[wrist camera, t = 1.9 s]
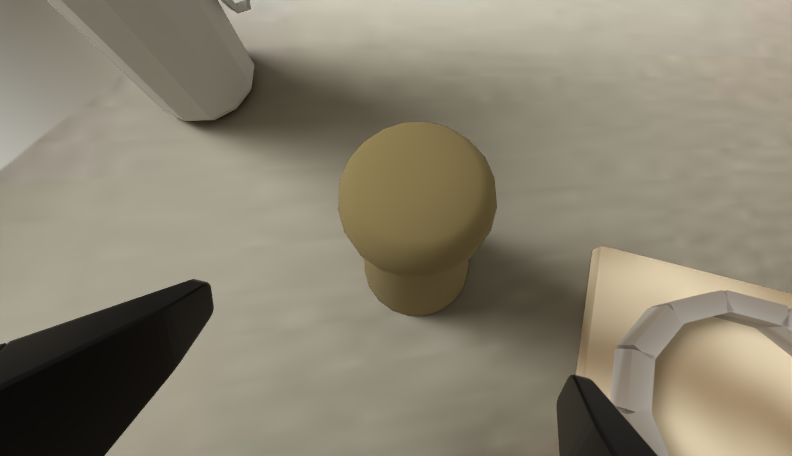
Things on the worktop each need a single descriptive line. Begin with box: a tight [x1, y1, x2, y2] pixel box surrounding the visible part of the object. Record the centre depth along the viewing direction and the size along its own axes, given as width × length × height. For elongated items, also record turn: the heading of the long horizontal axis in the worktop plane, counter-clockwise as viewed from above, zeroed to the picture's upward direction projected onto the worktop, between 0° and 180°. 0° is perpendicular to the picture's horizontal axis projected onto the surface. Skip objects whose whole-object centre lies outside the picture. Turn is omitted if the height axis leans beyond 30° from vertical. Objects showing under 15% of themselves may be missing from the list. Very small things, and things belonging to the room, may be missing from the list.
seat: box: [576, 246, 792, 456], centre depth 16 cm, size 13×13×2 cm
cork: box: [338, 122, 497, 316], centre depth 15 cm, size 6×6×11 cm
